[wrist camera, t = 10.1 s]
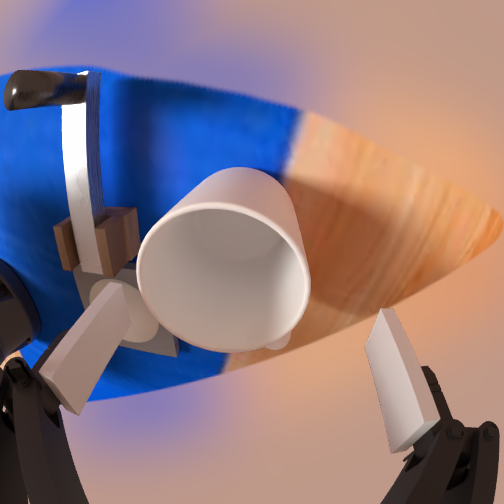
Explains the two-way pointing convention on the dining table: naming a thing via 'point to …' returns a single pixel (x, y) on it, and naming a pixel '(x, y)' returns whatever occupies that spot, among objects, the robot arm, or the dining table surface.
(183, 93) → the dining table surface
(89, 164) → the crank handle
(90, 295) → the dock pad
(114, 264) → the mount
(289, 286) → the mug
